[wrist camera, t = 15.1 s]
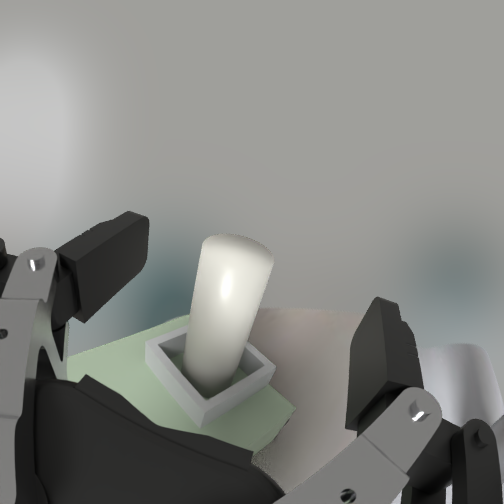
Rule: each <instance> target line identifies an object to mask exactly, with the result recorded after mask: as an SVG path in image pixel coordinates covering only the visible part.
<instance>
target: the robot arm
mask: <svg viewBox="0 0 504 504" xmlns="http://www.w3.org/2000/svg"><path fill="white" fill-rule="evenodd" d="M148 236H149V219H148V218H147V217H146V216H142V215H140V214H137V213H134V212H131V211H127V212H125V213H123V214H122V215H120V216H118V217H116V218H115V219H113V220H109V221H105V222H102V223H99V224H97V225H96V226H94V227H92V228H90V230H87V231H85V232H84V233H82V235H79V236H77V237H75V238H74V239H72V240H71V241H69V242H67V243H66V244H64V245H63V246H61V247H59V248H58V249H56V250H55V251H53V250H51V249H48V248H42V247H39V248H32V249H29V250H26V251H24V252H23V253H21V254H20V255H19V256H14V255H10V254H7V253H6V248H5V243H4V240H3V239H1V238H0V504H391V503H392V501H393V500H394V499H395V498H396V497H397V495H398V494H399V493H400V492H401V490H402V497H401V504H446V487H448V486H450V485H451V484H452V504H503V498H502V484H503V483H504V415H503V416H502V417H500V418H499V419H498V420H497V421H496V422H495V423H494V424H493V425H492V426H491V427H490V426H489V425H488V424H487V423H485V422H484V421H482V420H479V419H472V420H470V421H468V422H467V423H466V424H465V425H464V426H463V427H461V428H460V427H458V426H456V425H454V424H452V423H450V422H449V421H447V420H445V419H443V418H442V411H441V407H440V405H439V403H438V401H437V400H436V399H435V397H434V396H433V395H431V394H430V393H429V392H427V391H426V390H424V385H423V379H422V374H421V368H420V363H419V358H417V357H418V352H417V348H416V343H415V338H414V334H413V332H412V331H411V329H410V328H409V326H408V324H407V323H406V322H404V321H401V316H400V311H399V306H398V304H397V303H394V302H391V301H389V300H386V299H383V298H380V297H376V298H375V299H374V300H373V301H372V303H371V305H370V307H369V309H368V310H367V312H366V314H365V316H364V318H363V319H362V321H361V323H360V325H359V326H358V328H357V330H356V332H355V334H354V336H353V339H352V342H351V347H350V366H349V385H348V400H347V412H346V423H345V429H349V430H354V431H357V438H356V439H355V440H354V441H353V442H352V443H351V444H350V445H349V446H348V447H346V448H345V449H344V450H343V451H342V452H341V453H340V454H338V455H337V456H336V457H335V458H334V459H332V460H331V461H330V462H329V463H328V464H326V465H325V466H324V467H323V468H321V469H320V470H319V471H318V472H316V473H315V474H314V475H312V476H311V477H310V478H308V479H307V480H306V481H304V482H303V483H302V484H300V485H299V486H298V487H296V488H295V489H293V490H292V491H291V492H289V493H288V494H286V495H285V493H284V492H283V490H282V489H281V488H280V486H279V485H278V484H277V483H276V482H275V481H274V480H273V479H272V478H271V477H270V476H269V475H268V474H267V473H265V472H264V471H262V470H261V469H260V468H258V467H257V466H255V465H253V464H252V463H250V462H251V459H252V456H253V453H254V451H251V450H247V449H244V448H241V447H238V446H236V445H233V444H230V443H227V442H224V441H222V440H219V439H216V438H214V437H211V436H208V435H203V434H197V433H191V432H186V431H181V430H176V429H171V428H167V427H162V426H159V425H157V424H155V423H154V422H152V421H151V420H150V419H149V418H147V417H146V416H145V415H144V414H143V413H141V412H140V411H139V410H138V409H137V408H136V407H134V406H133V405H132V404H131V403H130V402H129V401H128V400H127V399H125V398H124V397H123V396H122V395H121V394H119V393H118V392H116V391H114V390H112V389H110V388H109V387H107V386H105V385H104V384H102V383H100V382H99V381H97V380H95V379H94V378H92V377H90V376H89V375H87V374H85V375H84V376H83V378H82V379H81V380H80V381H79V382H78V383H77V382H73V381H69V380H68V377H67V351H68V336H69V323H68V320H69V319H70V318H71V317H72V316H73V317H74V318H76V319H78V320H79V321H81V322H83V323H85V322H87V321H88V320H89V319H90V318H91V317H92V316H93V315H94V314H95V313H96V312H97V311H98V310H99V309H100V308H101V307H102V306H103V305H104V304H106V303H107V302H108V301H109V300H110V299H111V298H112V297H113V296H114V295H115V294H116V293H117V292H118V291H120V290H121V289H122V288H123V287H124V286H125V285H126V284H127V283H128V282H129V281H130V280H132V279H133V278H134V277H135V276H136V275H137V274H138V273H139V272H140V271H141V270H142V269H143V267H144V265H145V263H146V260H147V252H148Z"/></svg>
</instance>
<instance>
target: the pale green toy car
mask: <svg viewBox="0 0 504 504" xmlns="http://www.w3.org/2000/svg"><path fill="white" fill-rule="evenodd" d="M189 316H190V314H188V315H185V316H183V317H180V318H177V319H175V320H172V321H169V322H167V323H164V324H161V325H158V326H156V327H153V328H150V329H148V330H145V331H142V332H139V333H136V334H133V335H131V336H128V337H125V338H122V339H119V340H117V341H114V342H111V343H108V344H105V345H103V346H99V347H96V348H93V349H90V350H88V351H85V352H82V353H79V354H76V355H73V356H70V357H67V377H68V380H69V381H73V382H77V383H78V382H79V381H80V380H81V379H82V378H83V376H84V375H85V374H87V375H89V376H90V377H92V378H94V379H95V380H97V381H99V382H100V383H102V384H104V385H105V386H107V387H109V388H110V389H112V390H114V391H116V392H118V393H119V394H121V395H122V396H123V397H124V398H125V399H127V400H128V401H129V402H130V403H131V404H132V405H133V406H134V407H136V408H137V409H138V410H139V411H140V412H141V413H143V414H144V415H145V416H146V417H147V418H149V419H150V420H151V421H152V422H154V423H155V424H157V425H159V426H162V427H167V428H171V429H176V430H181V431H186V432H191V433H197V434H203V435H208V436H211V437H214V438H216V439H219V440H222V441H224V442H227V443H230V444H233V445H236V446H238V447H241V448H244V449H247V450H251V451H254V453H253V456H254V455H255V454H257V453H258V452H259V451H260V450H262V449H263V448H264V447H265V446H267V445H268V444H269V443H270V442H272V440H273V439H274V438H275V437H276V435H277V434H278V433H279V431H280V430H281V428H282V427H283V426H284V425H285V424H286V423H287V422H288V420H289V417H290V416H291V415H292V413H293V412H294V410H295V409H296V407H295V406H294V405H292V404H291V403H290V402H289V401H288V400H287V399H285V398H284V397H283V396H282V395H281V394H280V393H279V392H277V391H276V390H275V389H274V388H273V387H272V386H271V385H269V382H270V380H271V378H272V376H273V374H274V372H275V370H276V368H277V366H275V365H274V364H273V363H272V362H271V361H270V360H268V359H267V358H266V357H265V356H264V355H263V354H262V353H261V352H259V351H258V350H257V349H256V348H255V347H254V346H253V345H252V344H250V343H249V342H248V341H247V343H246V346H245V348H244V351H243V354H242V357H241V360H240V362H239V365H238V368H237V371H236V374H235V376H234V379H233V382H232V385H231V387H229V388H228V389H226V390H224V391H222V392H221V393H219V394H217V395H216V396H214V397H202V396H201V395H200V394H199V393H198V392H197V390H196V389H195V388H194V387H193V386H192V385H191V384H190V383H189V381H188V380H187V379H186V378H185V377H184V376H183V375H182V373H181V368H182V361H183V354H184V348H185V341H186V335H187V329H188V322H189ZM253 456H252V457H253Z"/></svg>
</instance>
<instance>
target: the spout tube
mask: <svg viewBox="0 0 504 504" xmlns="http://www.w3.org/2000/svg"><path fill="white" fill-rule="evenodd" d="M273 265H274V257H273V255H272V253H271V252H270V251H269V250H268V249H267V248H266V247H265V246H263V245H262V244H260V243H259V242H257V241H255V240H252V239H250V238H247V237H243V236H239V235H234V234H217V235H213V236H210V237H208V238H207V239H206V240H205V241H204V242H203V245H202V250H201V255H200V260H199V266H198V271H197V276H196V282H195V288H194V293H193V299H192V305H191V310H190V316H189V322H188V329H187V335H186V341H185V348H184V354H183V361H182V368H181V373H182V375H183V376H184V377H185V378H186V379H187V380H188V381H189V383H190V384H191V385H192V386H193V387H194V388H195V389H196V390H197V392H198V393H199V394H200V395H201V396H202V397H214V396H216V395H217V394H219V393H221V392H222V391H224V390H226V389H228V388H229V387H231V385H232V382H233V379H234V376H235V374H236V371H237V368H238V365H239V362H240V360H241V357H242V354H243V351H244V348H245V346H246V343H247V340H248V337H249V334H250V331H251V329H252V326H253V323H254V320H255V317H256V314H257V311H258V309H259V305H260V303H261V300H262V296H263V294H264V291H265V288H266V285H267V282H268V279H269V276H270V273H271V270H272V268H273Z"/></svg>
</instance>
